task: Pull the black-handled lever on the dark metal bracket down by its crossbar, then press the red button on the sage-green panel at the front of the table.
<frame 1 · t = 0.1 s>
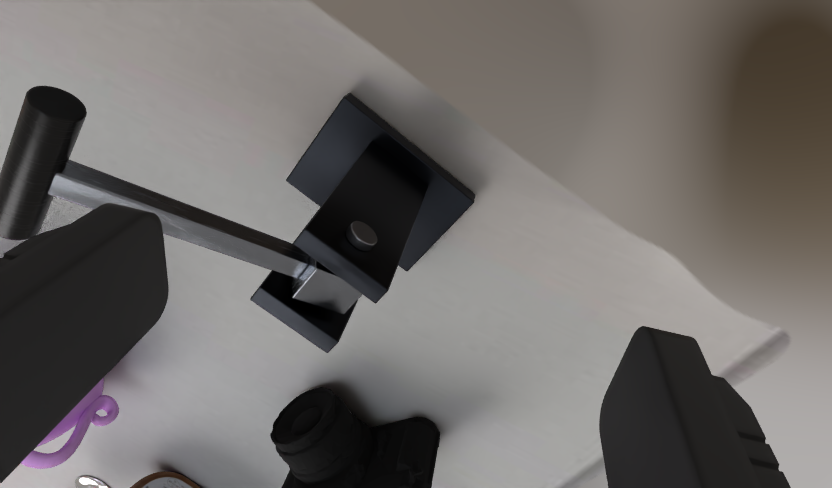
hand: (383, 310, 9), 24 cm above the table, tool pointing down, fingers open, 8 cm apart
wineglass: (95, 487, 58), on the table
bracket: (382, 184, 34), on the table
film camera: (351, 421, 46), on the table
teapot: (43, 328, 47), on the table
lever: (209, 230, 22), point 13 cm above the table, hinge at 25.0°
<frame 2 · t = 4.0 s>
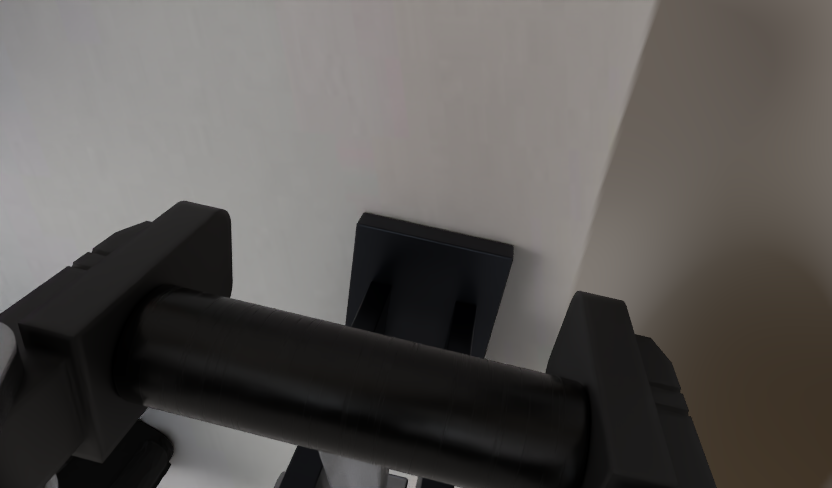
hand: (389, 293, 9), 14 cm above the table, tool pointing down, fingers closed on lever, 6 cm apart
bracket: (420, 314, 27), on the table
film camera: (87, 375, 34), on the table
lever: (361, 482, 12), point 13 cm above the table, hinge at 25.0°, touching gripper
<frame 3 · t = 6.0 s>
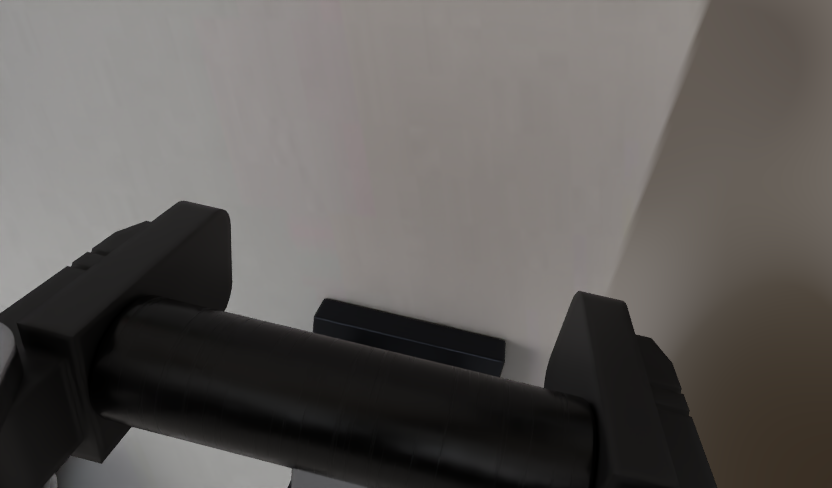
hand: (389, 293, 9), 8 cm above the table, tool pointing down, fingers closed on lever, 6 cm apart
bracket: (396, 410, 22), on the table
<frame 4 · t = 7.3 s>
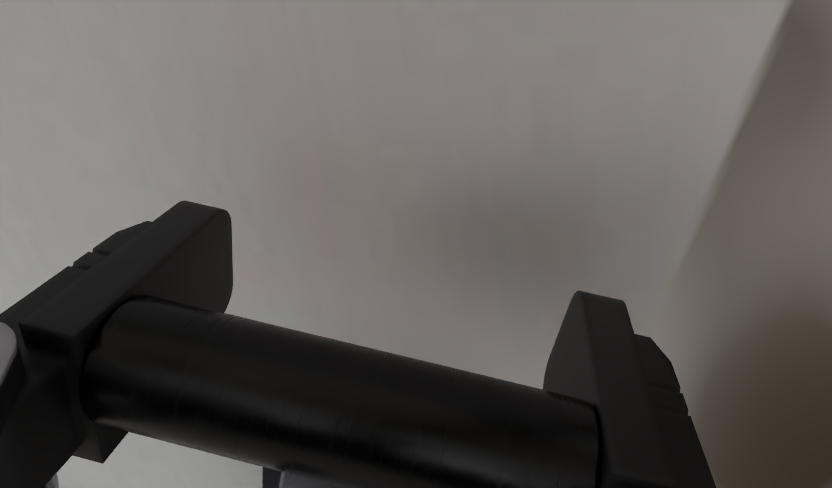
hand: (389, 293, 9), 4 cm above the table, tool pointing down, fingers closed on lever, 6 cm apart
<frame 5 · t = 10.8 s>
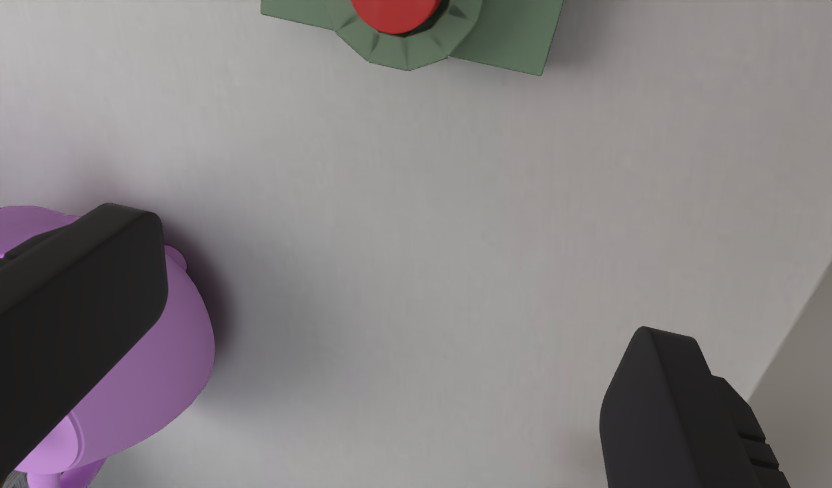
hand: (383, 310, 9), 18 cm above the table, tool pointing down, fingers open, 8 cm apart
tin: (57, 463, 45), on the table
teapot: (132, 280, 34), on the table
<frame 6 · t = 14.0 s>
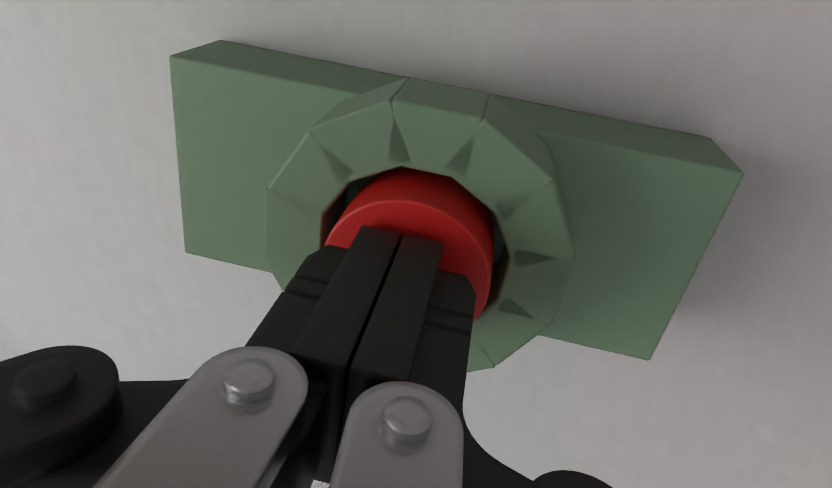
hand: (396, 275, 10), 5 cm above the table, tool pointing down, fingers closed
panel: (438, 181, 14), on the table
button: (412, 255, 11), point 4 cm above the table, slide at -0.5 cm, touching gripper
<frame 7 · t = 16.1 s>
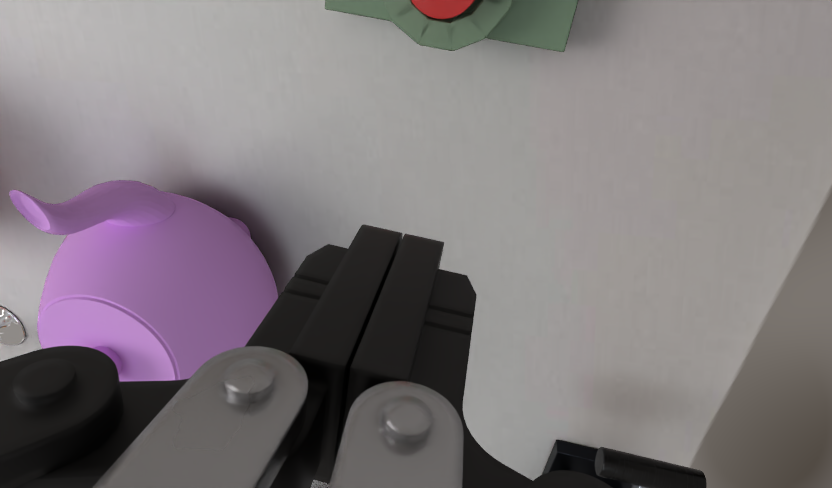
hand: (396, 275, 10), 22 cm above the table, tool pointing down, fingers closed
wineglass: (2, 323, 46), on the table
teapot: (201, 251, 38), on the table
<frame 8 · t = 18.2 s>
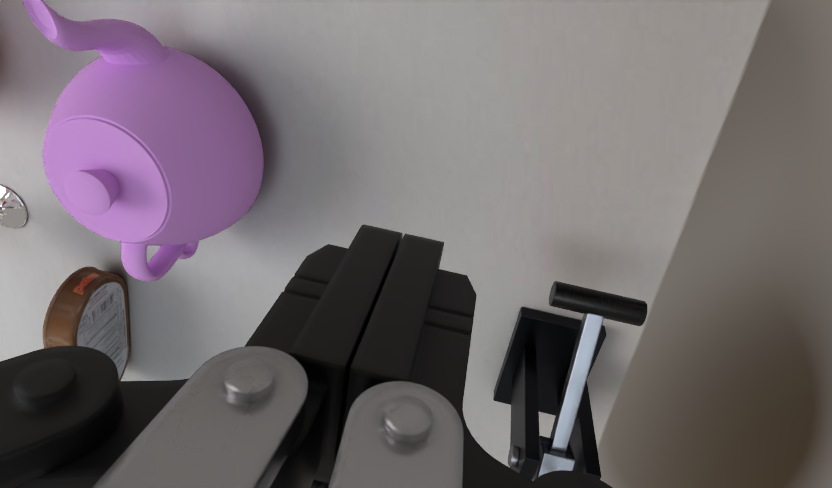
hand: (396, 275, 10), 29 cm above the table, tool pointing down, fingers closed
tin: (121, 314, 53), on the table
wineglass: (6, 205, 49), on the table
bracket: (546, 360, 47), on the table
teapot: (193, 121, 41), on the table
lever: (573, 390, 36), point 9 cm above the table, hinge at -21.1°
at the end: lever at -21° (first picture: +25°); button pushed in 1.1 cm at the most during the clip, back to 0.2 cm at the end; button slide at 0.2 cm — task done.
